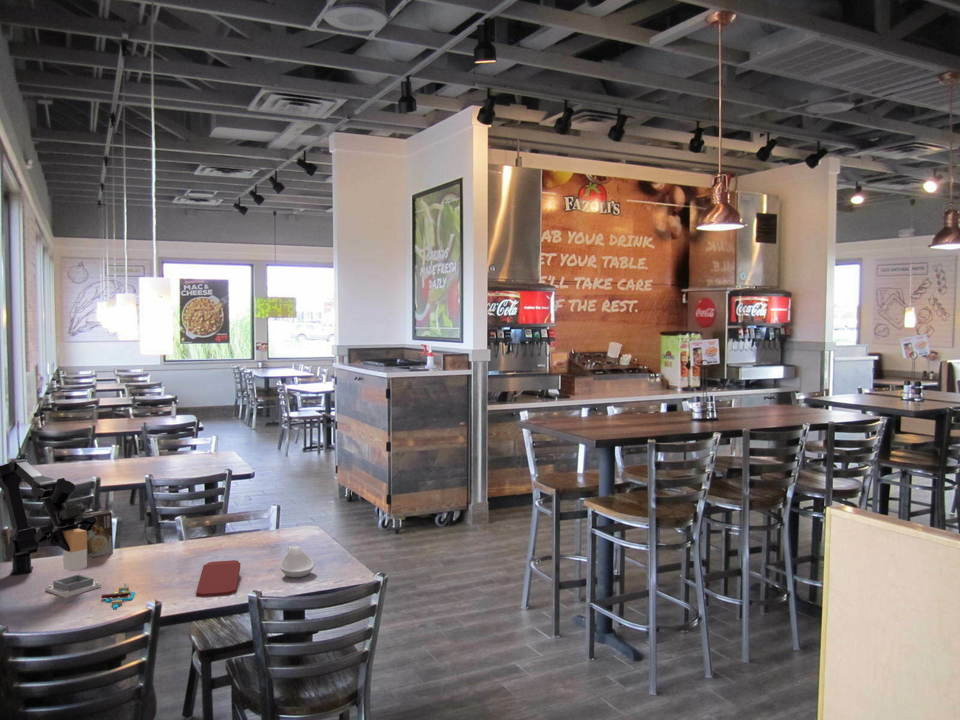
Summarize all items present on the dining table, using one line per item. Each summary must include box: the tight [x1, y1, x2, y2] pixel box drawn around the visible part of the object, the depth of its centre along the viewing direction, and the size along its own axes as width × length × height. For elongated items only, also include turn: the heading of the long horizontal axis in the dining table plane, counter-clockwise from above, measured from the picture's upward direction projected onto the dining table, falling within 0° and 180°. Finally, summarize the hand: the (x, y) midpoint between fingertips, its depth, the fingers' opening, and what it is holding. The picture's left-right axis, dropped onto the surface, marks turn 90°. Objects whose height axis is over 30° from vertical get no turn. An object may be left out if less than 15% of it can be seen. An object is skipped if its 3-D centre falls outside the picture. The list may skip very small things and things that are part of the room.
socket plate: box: [44, 573, 102, 598], centre depth 246 cm, size 12×12×3 cm
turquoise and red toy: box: [100, 581, 136, 610], centre depth 238 cm, size 20×5×9 cm
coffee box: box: [82, 509, 114, 559], centre depth 285 cm, size 9×6×16 cm
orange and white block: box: [62, 528, 88, 572], centre depth 246 cm, size 5×5×12 cm
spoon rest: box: [279, 545, 315, 578], centre depth 266 cm, size 24×12×7 cm, turn 20°
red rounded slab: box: [195, 559, 241, 598], centre depth 253 cm, size 12×5×26 cm
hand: (77, 548), depth 245 cm, fingers closed on orange and white block, 5 cm apart
